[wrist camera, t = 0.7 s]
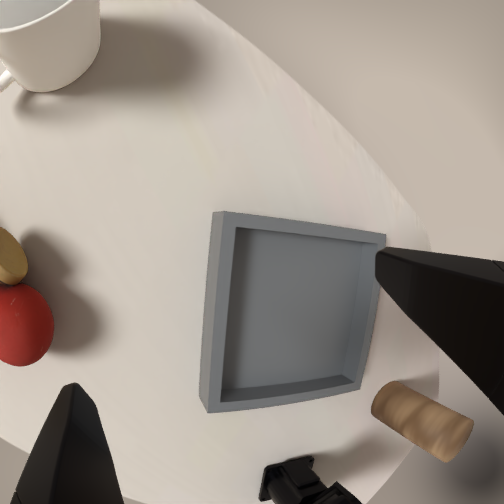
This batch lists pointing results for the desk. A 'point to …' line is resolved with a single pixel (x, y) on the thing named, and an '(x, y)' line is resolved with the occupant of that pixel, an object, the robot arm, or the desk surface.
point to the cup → (47, 41)
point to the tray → (285, 311)
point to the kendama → (21, 309)
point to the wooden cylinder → (422, 420)
